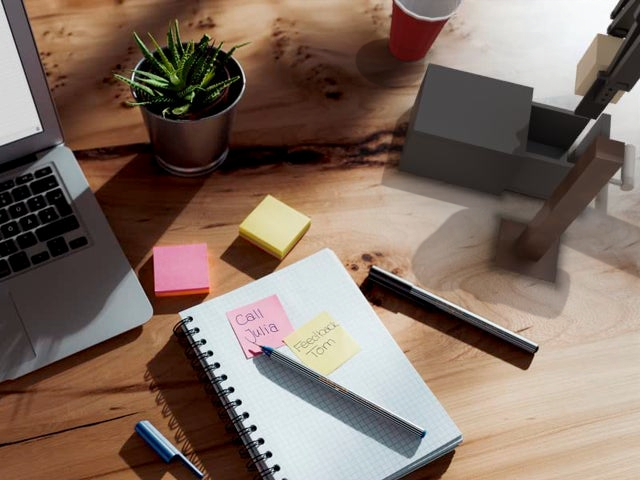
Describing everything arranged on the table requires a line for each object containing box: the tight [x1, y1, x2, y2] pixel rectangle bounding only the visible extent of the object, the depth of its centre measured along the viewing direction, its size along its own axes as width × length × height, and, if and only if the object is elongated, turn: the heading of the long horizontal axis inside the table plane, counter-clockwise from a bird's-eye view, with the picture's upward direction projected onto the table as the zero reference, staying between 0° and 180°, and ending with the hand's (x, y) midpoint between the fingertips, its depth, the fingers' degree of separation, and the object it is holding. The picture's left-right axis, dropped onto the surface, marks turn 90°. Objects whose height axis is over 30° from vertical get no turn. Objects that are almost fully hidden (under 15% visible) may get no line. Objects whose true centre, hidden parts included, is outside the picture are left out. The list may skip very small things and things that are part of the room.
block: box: [573, 32, 626, 105], centre depth 78 cm, size 5×5×5 cm
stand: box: [494, 136, 626, 284], centre depth 80 cm, size 8×8×22 cm
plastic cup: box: [388, 0, 465, 63], centre depth 100 cm, size 11×11×12 cm
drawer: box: [504, 100, 636, 201], centre depth 91 cm, size 18×11×8 cm, turn 73°
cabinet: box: [397, 62, 535, 197], centre depth 93 cm, size 15×13×10 cm
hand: (586, 98), depth 82 cm, fingers closed on block, 5 cm apart
